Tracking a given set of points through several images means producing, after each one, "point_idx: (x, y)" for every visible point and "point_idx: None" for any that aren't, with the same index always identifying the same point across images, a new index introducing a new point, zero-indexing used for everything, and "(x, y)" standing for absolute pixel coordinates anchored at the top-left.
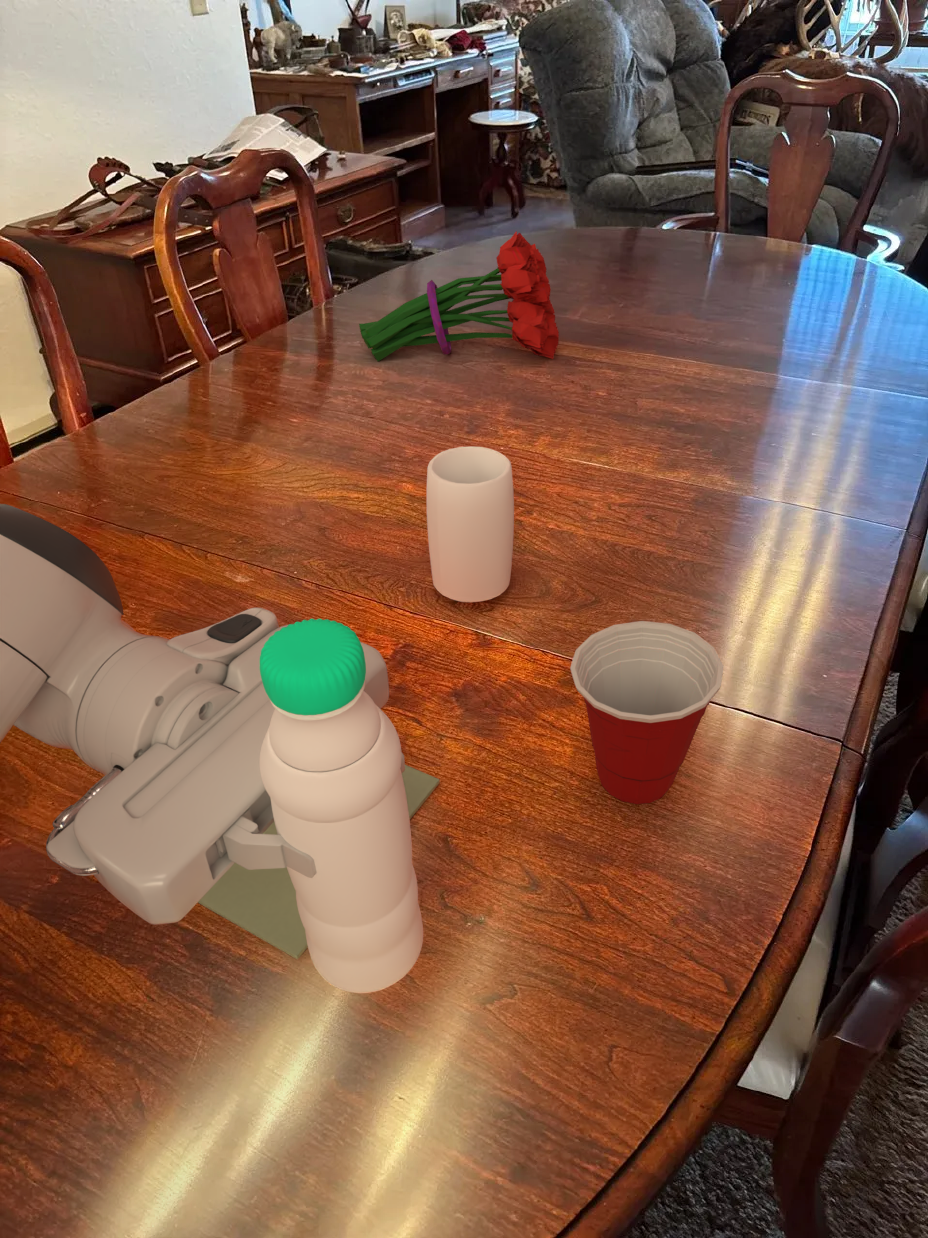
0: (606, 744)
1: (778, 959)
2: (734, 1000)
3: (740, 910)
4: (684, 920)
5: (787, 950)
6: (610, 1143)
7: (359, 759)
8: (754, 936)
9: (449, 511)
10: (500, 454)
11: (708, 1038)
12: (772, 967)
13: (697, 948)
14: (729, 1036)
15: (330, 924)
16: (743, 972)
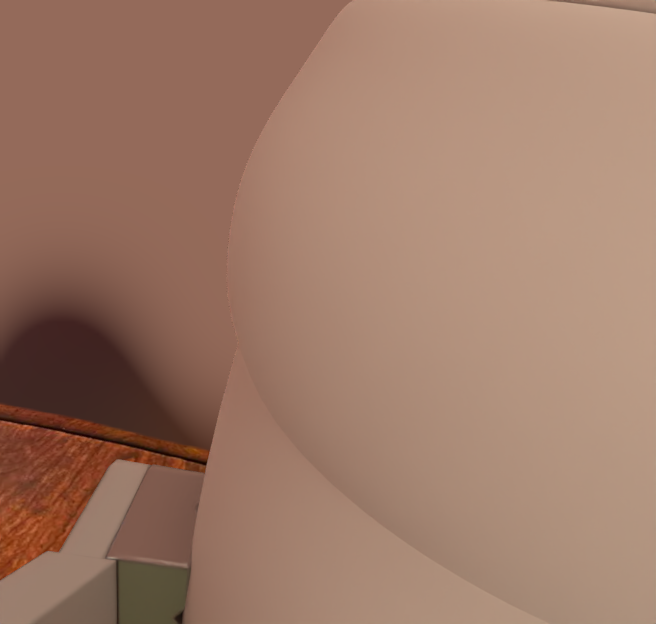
0: None
1: (85, 425)
2: (143, 452)
3: (17, 455)
4: (37, 501)
5: (72, 420)
6: None
7: (190, 604)
8: (56, 442)
9: None
10: None
11: (193, 466)
12: (96, 429)
13: (80, 485)
14: (185, 452)
15: None
16: (107, 447)
